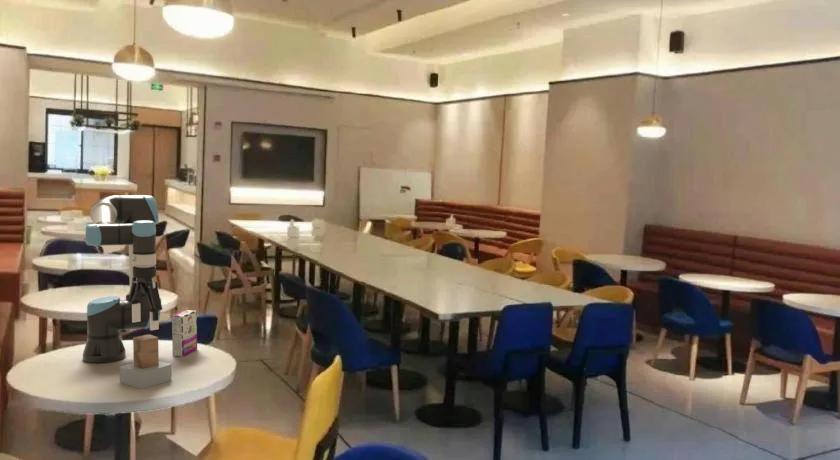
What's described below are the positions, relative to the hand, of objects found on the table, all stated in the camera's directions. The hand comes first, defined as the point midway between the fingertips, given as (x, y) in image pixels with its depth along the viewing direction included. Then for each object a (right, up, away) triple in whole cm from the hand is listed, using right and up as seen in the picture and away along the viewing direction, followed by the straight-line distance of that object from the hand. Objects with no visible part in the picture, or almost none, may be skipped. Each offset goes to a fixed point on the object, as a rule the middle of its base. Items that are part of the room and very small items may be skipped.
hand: (145, 325), depth 240 cm
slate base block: (0, -20, +2) cm, 20 cm away
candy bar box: (+1, -16, +37) cm, 40 cm away
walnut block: (0, -14, +1) cm, 14 cm away
